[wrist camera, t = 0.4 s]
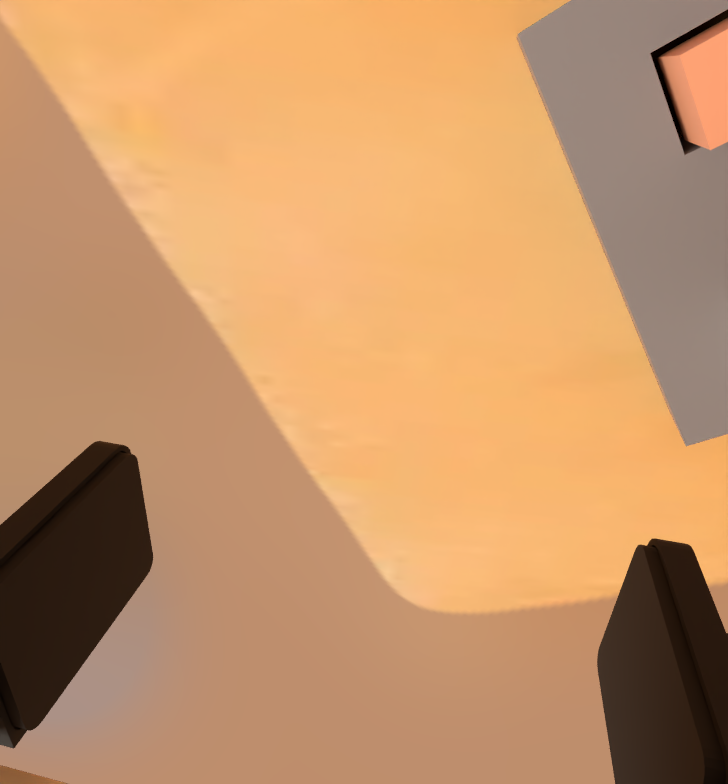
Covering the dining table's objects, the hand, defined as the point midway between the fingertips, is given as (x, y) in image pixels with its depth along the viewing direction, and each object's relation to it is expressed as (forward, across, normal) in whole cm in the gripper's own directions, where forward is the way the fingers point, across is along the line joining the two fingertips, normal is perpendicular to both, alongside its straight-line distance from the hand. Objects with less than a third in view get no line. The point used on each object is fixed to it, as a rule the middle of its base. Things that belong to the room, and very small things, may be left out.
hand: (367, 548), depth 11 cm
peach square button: (+25, -11, -8) cm, 28 cm away
